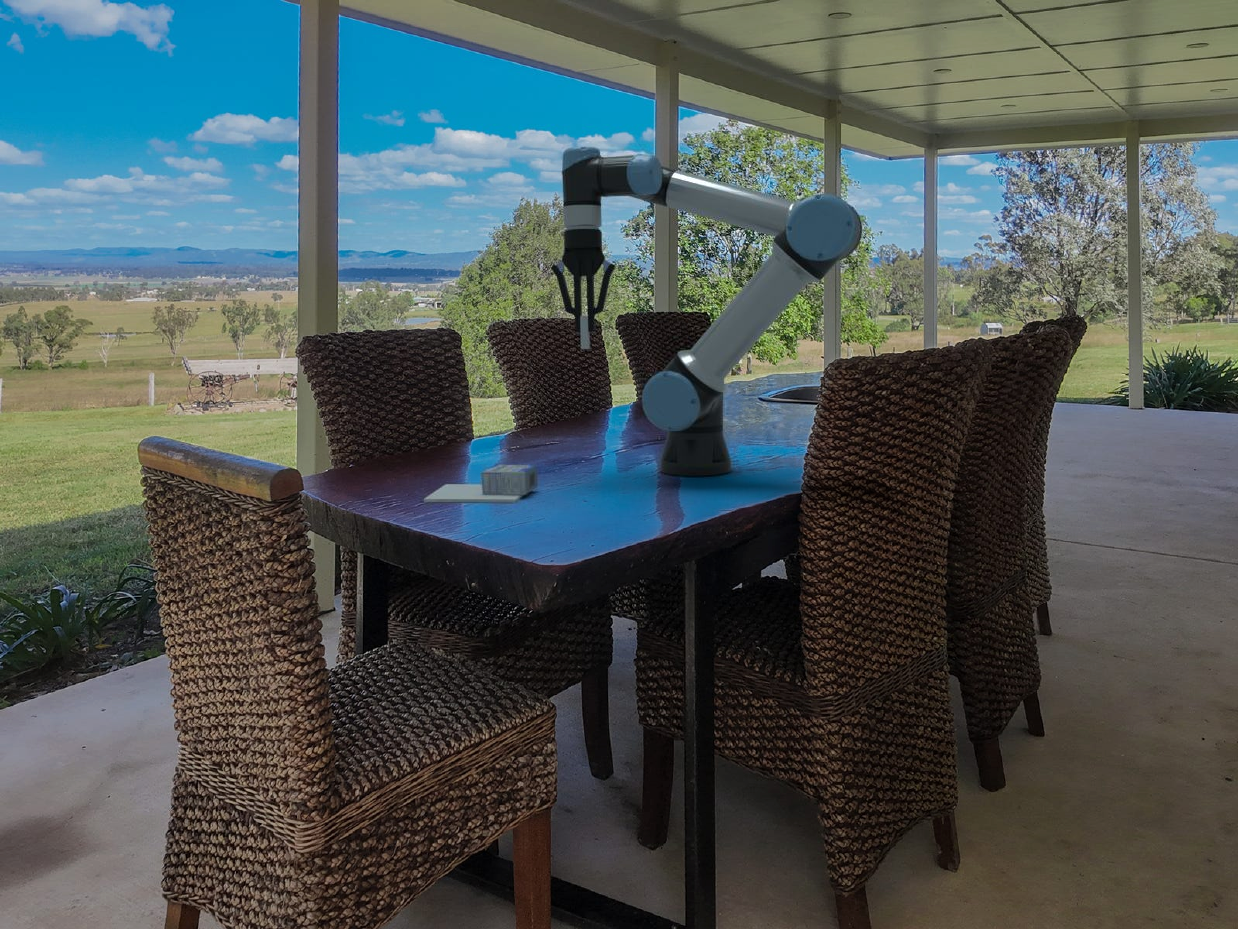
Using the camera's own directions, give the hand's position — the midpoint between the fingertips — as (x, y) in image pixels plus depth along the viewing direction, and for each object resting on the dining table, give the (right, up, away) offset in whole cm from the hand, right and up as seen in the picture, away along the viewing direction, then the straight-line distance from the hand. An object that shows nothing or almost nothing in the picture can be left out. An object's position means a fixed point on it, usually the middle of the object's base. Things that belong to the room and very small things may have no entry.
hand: (585, 348), depth 205 cm
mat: (-20, -29, -13) cm, 38 cm away
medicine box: (-9, -26, -15) cm, 32 cm away
